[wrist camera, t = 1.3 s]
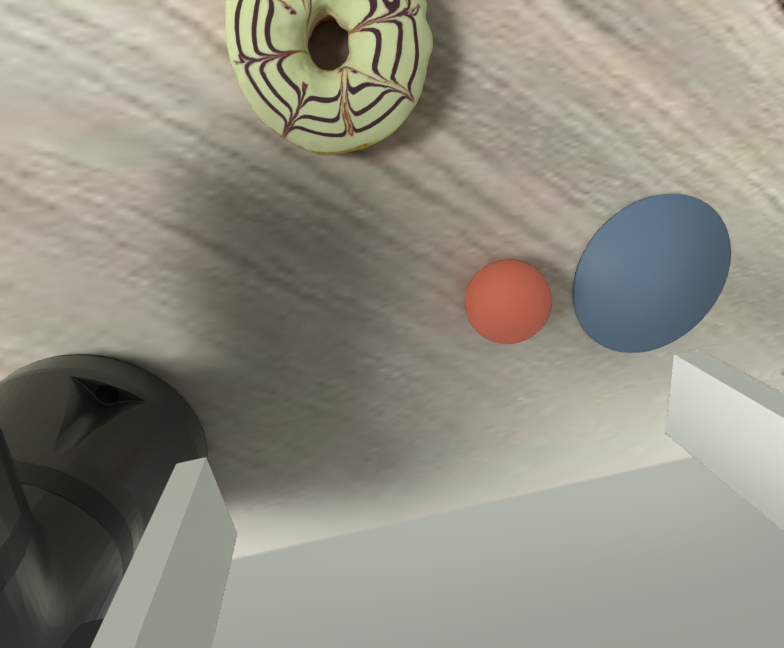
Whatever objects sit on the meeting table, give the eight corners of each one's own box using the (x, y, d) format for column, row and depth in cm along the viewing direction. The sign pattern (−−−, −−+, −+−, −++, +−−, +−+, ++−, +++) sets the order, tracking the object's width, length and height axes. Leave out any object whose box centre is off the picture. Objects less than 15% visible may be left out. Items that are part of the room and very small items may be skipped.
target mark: (583, 371, 34) (585, 372, 34) (562, 225, 30) (563, 226, 30) (728, 323, 34) (730, 324, 34) (728, 170, 30) (731, 170, 30)
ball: (465, 334, 32) (489, 369, 27) (447, 266, 30) (469, 289, 25) (536, 311, 32) (573, 341, 27) (523, 241, 30) (560, 259, 25)
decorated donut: (397, -89, 23) (408, -132, 19) (438, 128, 27) (452, 124, 23) (205, -39, 23) (181, -74, 19) (275, 171, 27) (266, 175, 23)
